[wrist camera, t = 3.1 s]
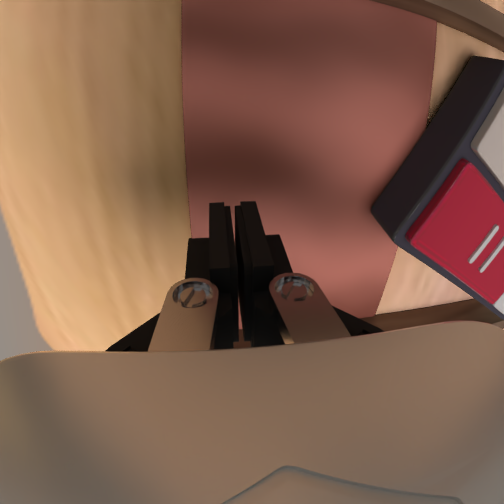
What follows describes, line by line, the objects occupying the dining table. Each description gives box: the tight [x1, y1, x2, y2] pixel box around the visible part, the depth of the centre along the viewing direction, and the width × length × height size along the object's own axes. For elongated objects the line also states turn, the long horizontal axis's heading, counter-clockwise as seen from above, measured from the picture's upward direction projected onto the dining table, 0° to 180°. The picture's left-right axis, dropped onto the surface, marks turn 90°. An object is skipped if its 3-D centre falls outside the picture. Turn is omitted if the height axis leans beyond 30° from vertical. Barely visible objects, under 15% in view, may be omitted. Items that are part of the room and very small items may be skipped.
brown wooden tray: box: [182, 0, 504, 348], centre depth 15 cm, size 21×36×3 cm, turn 89°
